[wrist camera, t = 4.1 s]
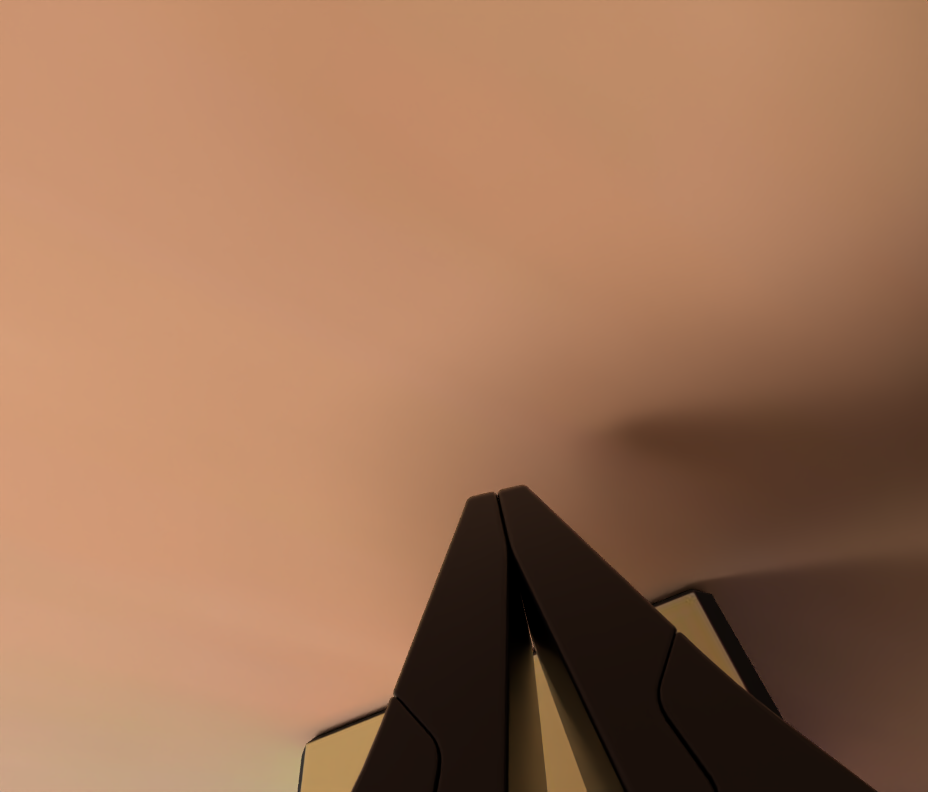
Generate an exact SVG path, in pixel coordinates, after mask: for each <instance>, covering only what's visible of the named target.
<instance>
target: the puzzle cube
mask: <svg viewBox="0 0 928 792" xmlns="http://www.w3.org/2000/svg"><path fill="white" fill-rule="evenodd" d="M653 606H654V607H655V608H656V609H657V610H658V611H659V612H660V613H661V614H662V615H663V616H664V617H665V618H666V619H667V620H668V621H670V622H671V623H672V624H673V625H674V626H675V627H676V628H677V633H678V632H681V633H683V634H684V635H685V636H686V637H687V638H688V639H689V640H690V641H691V642H692V643H693V644H694V645H695V646H696V647H697V648H698V649H699V650H701V651H702V652H703V653H704V654H705V655H706V656H707V657H708V658H709V659H710V660H712V661H713V662H714V663H715V664H716V665H717V666H718V667H719V668H721V669H722V670H723V671H724V672H725V673H726V674H727V675H728V676H730V677H731V678H732V679H733V680H734V681H735V682H736V683H737V684H739V685H740V686H741V687H742V688H743V689H745V690H746V691H747V692H749V693H750V694H751V695H752V696H754V697H755V698H756V699H757V700H759V701H760V702H761V703H762V704H764V705H765V706H766V707H767V708H769V709H770V710H771V711H772V712H774V713H775V714H776V715H777V716H779V717H780V718H781V719H783V718H782V716H781V715H780V713H779V711H778V709H777V708H776V706H775V704H774V702H773V701H772V699H771V697H770V695H769V694H768V692H767V690H766V688H765V687H764V685H763V683H762V681H761V680H760V678H759V676H758V674H757V673H756V671H755V669H754V667H753V666H752V664H751V662H750V660H749V659H748V657H747V655H746V653H745V652H744V650H743V648H742V646H741V645H740V643H739V641H738V639H737V638H736V636H735V634H734V632H733V631H732V629H731V627H730V625H729V624H728V622H727V620H726V618H725V617H724V615H723V613H722V611H721V610H720V608H719V606H718V604H717V603H716V601H715V599H714V597H713V596H712V594H708V593H705V592H701V591H698V590H694V589H691V590H688V591H686V592H683V593H681V594H678V595H675V596H673V597H670V598H668V599H665V600H663V601H660V602H658V603H655V604H653ZM533 657H534V666H535V676H536V685H537V695H538V704H539V714H540V723H541V733H542V743H543V752H544V762H545V771H546V781H547V790H548V792H587V790H586V787H585V784H584V782H583V779H582V776H581V774H580V771H579V768H578V765H577V763H576V760H575V757H574V754H573V752H572V749H571V746H570V744H569V741H568V738H567V735H566V733H565V730H564V727H563V725H562V722H561V719H560V716H559V714H558V711H557V708H556V706H555V703H554V700H553V697H552V695H551V692H550V689H549V686H548V684H547V681H546V678H545V676H544V673H543V670H542V667H541V665H540V662H539V659H538V656H537V653H536V651H534V652H533ZM385 711H386V710H384V711H381V712H379V713H376V714H374V715H371V716H369V717H366V718H363V719H361V720H358V721H356V722H353V723H351V724H348V725H346V726H343V727H341V728H338V729H336V730H333V731H331V732H328V733H326V734H323V735H321V736H318V737H316V738H314V739H312V740H311V741H310V742H308V743H307V744H306V746H305V748H304V751H303V754H302V759H301V767H300V776H299V784H298V792H351V790H352V788H353V786H354V784H355V782H356V780H357V778H358V776H359V774H360V772H361V770H362V767H363V765H364V763H365V760H366V758H367V755H368V753H369V751H370V748H371V746H372V744H373V741H374V739H375V736H376V734H377V732H378V729H379V727H380V724H381V722H382V719H383V717H384V714H385Z"/></svg>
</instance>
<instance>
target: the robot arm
mask: <svg viewBox="0 0 928 792" xmlns="http://www.w3.org/2000/svg"><path fill="white" fill-rule="evenodd" d="M498 499H499V500H498ZM522 601H523V602H522ZM523 605H524V606H523ZM524 609H525V610H524ZM525 614H526V615H525ZM526 618H527V619H526ZM527 622H528V623H527ZM528 626H529V628H528ZM529 630H530V633H531V637H532V641H533V644H534V647H535V650H536V653H537V656H538V659H539V662H540V665H541V667H542V670H543V673H544V676H545V678H546V681H547V684H548V686H549V689H550V692H551V695H552V697H553V700H554V703H555V706H556V708H557V711H558V714H559V716H560V719H561V722H562V725H563V727H564V730H565V733H566V735H567V738H568V741H569V744H570V746H571V749H572V752H573V754H574V757H575V760H576V763H577V765H578V768H579V771H580V774H581V776H582V779H583V782H584V784H585V787H586V790H587V792H877V791H876V790H875V789H873V788H872V787H871V786H869V785H868V784H867V783H866V782H864V781H863V780H862V779H860V778H859V777H858V776H856V775H855V774H854V773H852V772H851V771H850V770H848V769H847V768H846V767H844V766H843V765H842V764H840V763H839V762H838V761H837V760H835V759H834V758H833V757H831V756H830V755H829V754H827V753H826V752H825V751H823V750H822V749H821V748H819V747H818V746H817V745H815V744H814V743H813V742H811V741H810V740H809V739H808V738H806V737H805V736H804V735H802V734H801V733H800V732H798V731H797V730H796V729H794V728H793V727H792V726H790V725H789V724H788V723H786V722H785V721H784V720H783V719H781V718H780V717H779V716H777V715H776V714H775V713H774V712H772V711H771V710H770V709H769V708H767V707H766V706H765V705H764V704H762V703H761V702H760V701H759V700H757V699H756V698H755V697H754V696H752V695H751V694H750V693H749V692H747V691H746V690H745V689H743V688H742V687H741V686H740V685H739V684H737V683H736V682H735V681H734V680H733V679H732V678H731V677H730V676H728V675H727V674H726V673H725V672H724V671H723V670H722V669H721V668H719V667H718V666H717V665H716V664H715V663H714V662H713V661H712V660H710V659H709V658H708V657H707V656H706V655H705V654H704V653H703V652H702V651H701V650H699V649H698V648H697V647H696V646H695V645H694V644H693V643H692V642H691V641H690V640H689V639H688V638H687V637H686V636H685V635H684V634H683V633H681V632H678V633H677V628H676V627H675V626H674V625H673V624H672V623H671V622H670V621H668V620H667V619H666V618H665V617H664V616H663V615H662V614H661V613H660V612H659V611H658V610H657V609H656V608H655V607H654V606H653V605H652V604H651V603H649V602H648V601H647V600H646V599H645V598H644V597H643V596H642V595H641V594H640V593H639V592H638V591H637V590H636V589H635V588H634V587H633V586H632V585H630V584H629V583H628V582H627V581H626V580H625V579H624V578H623V577H622V576H621V575H620V574H619V573H618V572H617V571H616V570H615V569H614V568H613V567H611V566H610V565H609V564H608V563H607V562H606V561H605V560H604V559H603V558H602V557H601V556H600V555H599V554H598V553H597V552H596V551H595V550H594V549H592V548H591V547H590V546H589V545H588V544H587V543H586V542H585V541H584V540H583V539H582V538H581V537H580V536H579V535H578V534H577V533H576V532H575V531H573V530H572V529H571V528H570V527H569V526H568V525H567V524H566V523H565V522H564V521H563V520H562V519H561V518H560V517H559V516H558V515H557V514H556V513H554V512H553V511H552V510H551V509H550V508H549V507H548V506H547V505H546V504H545V503H544V502H543V501H542V500H541V499H540V498H539V497H538V496H537V495H535V494H534V493H533V492H532V491H531V490H530V489H529V488H528V487H527V486H525V485H519V486H514V487H510V488H506V489H502V490H500V491H499V492H498V496H497V494H496V493H495V492H489V493H484V494H480V495H476V496H472V497H470V498H469V499H468V500H467V502H466V505H465V507H464V510H463V512H462V515H461V517H460V520H459V523H458V525H457V528H456V530H455V533H454V536H453V538H452V541H451V543H450V546H449V549H448V551H447V554H446V556H445V559H444V562H443V564H442V567H441V569H440V572H439V575H438V577H437V580H436V582H435V585H434V588H433V590H432V593H431V595H430V598H429V600H428V603H427V606H426V608H425V611H424V613H423V616H422V619H421V621H420V624H419V626H418V629H417V632H416V634H415V637H414V639H413V642H412V645H411V647H410V650H409V652H408V655H407V658H406V660H405V663H404V665H403V668H402V671H401V673H400V676H399V678H398V681H397V684H396V686H395V689H394V691H393V695H394V697H392V698H391V699H390V701H389V703H388V706H387V709H386V711H385V714H384V717H383V719H382V722H381V724H380V727H379V729H378V732H377V734H376V736H375V739H374V741H373V744H372V746H371V748H370V751H369V753H368V755H367V758H366V760H365V763H364V765H363V767H362V770H361V772H360V774H359V776H358V778H357V780H356V782H355V784H354V786H353V788H352V790H351V792H548V790H547V781H546V771H545V762H544V752H543V743H542V733H541V723H540V714H539V704H538V695H537V685H536V676H535V666H534V657H533V650H532V643H531V638H530V633H529Z"/></svg>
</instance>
